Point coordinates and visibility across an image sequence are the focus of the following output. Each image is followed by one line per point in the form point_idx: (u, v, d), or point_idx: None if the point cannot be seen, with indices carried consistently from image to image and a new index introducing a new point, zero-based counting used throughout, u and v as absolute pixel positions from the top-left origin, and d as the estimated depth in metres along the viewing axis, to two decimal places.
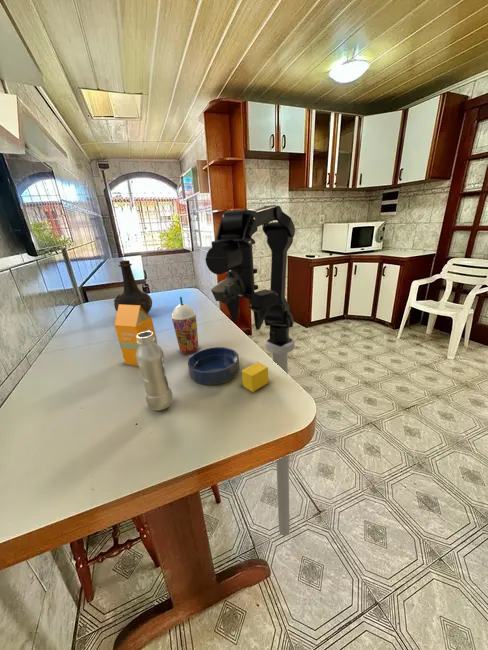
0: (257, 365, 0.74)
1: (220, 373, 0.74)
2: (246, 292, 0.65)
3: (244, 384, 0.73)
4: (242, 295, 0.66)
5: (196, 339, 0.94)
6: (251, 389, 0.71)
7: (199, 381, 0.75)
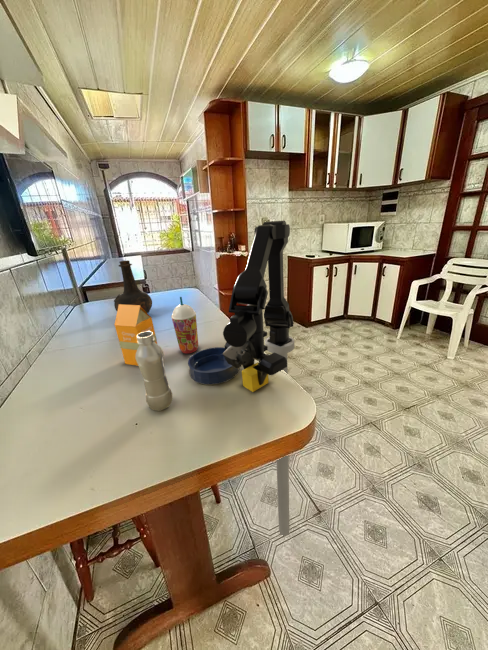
0: None
1: (220, 373, 0.74)
2: (256, 355, 0.67)
3: (244, 384, 0.73)
4: (259, 360, 0.67)
5: (196, 339, 0.94)
6: (251, 389, 0.71)
7: (199, 381, 0.75)
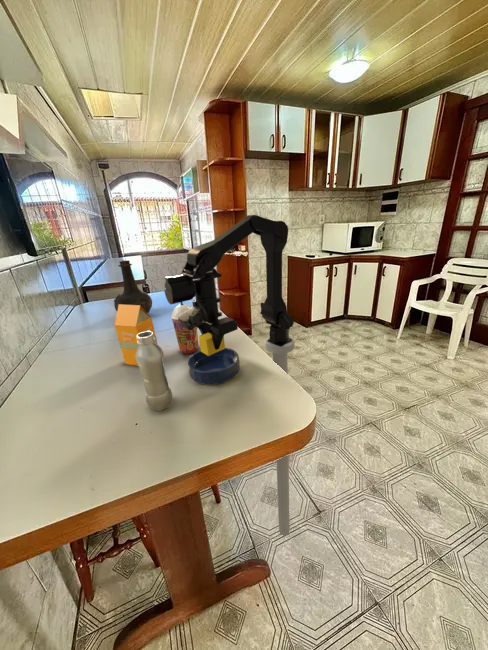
0: None
1: (220, 373, 0.74)
2: (210, 319, 0.72)
3: (201, 349, 0.78)
4: None
5: (196, 339, 0.94)
6: (207, 353, 0.75)
7: (199, 381, 0.75)
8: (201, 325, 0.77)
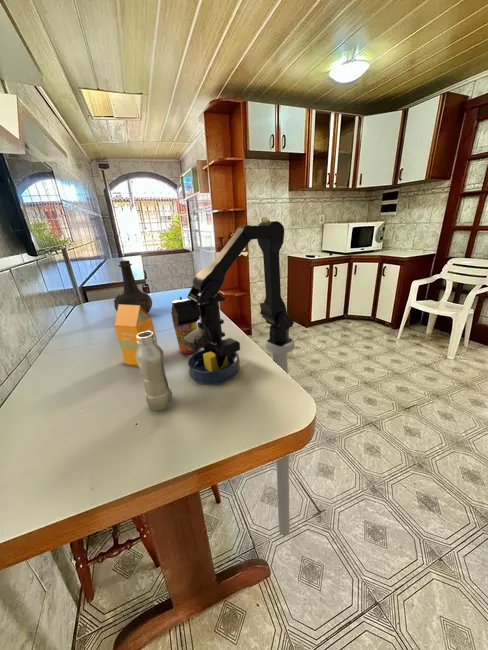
0: None
1: (220, 373, 0.74)
2: (214, 340, 0.77)
3: (205, 366, 0.82)
4: (216, 344, 0.76)
5: None
6: (211, 370, 0.80)
7: (199, 381, 0.75)
8: (205, 344, 0.81)
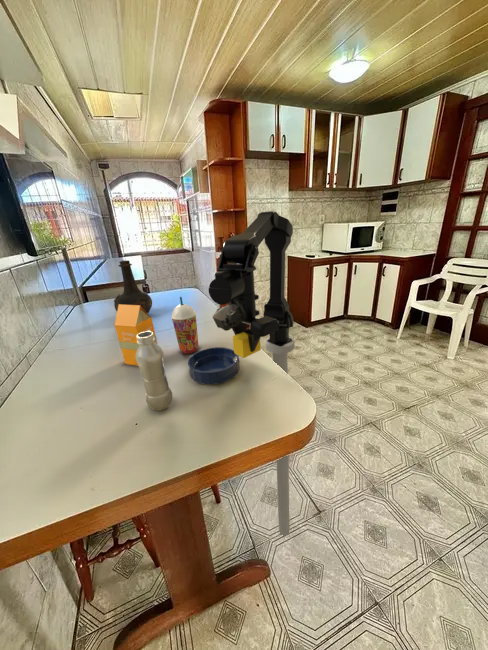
0: None
1: (220, 373, 0.74)
2: (247, 318, 0.65)
3: (235, 351, 0.70)
4: (250, 323, 0.65)
5: (196, 339, 0.94)
6: (242, 355, 0.68)
7: (199, 381, 0.75)
8: None
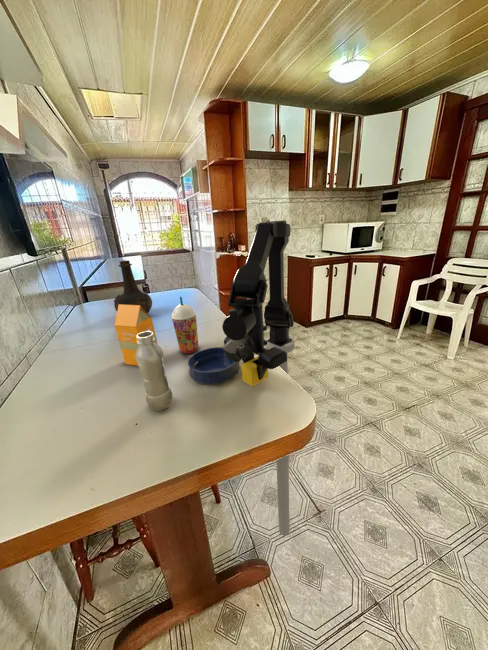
0: None
1: (220, 373, 0.74)
2: (256, 349, 0.67)
3: (244, 378, 0.72)
4: (259, 354, 0.67)
5: (196, 339, 0.94)
6: (251, 383, 0.70)
7: (199, 381, 0.75)
8: None
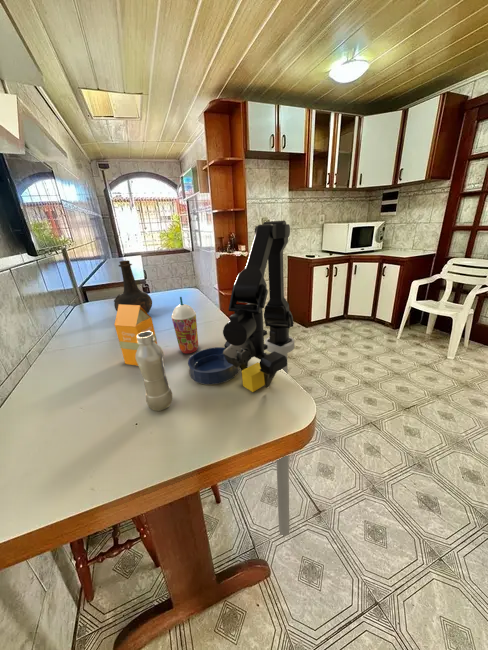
0: (257, 365, 0.74)
1: (220, 373, 0.74)
2: (256, 354, 0.67)
3: (244, 384, 0.73)
4: None
5: (196, 339, 0.94)
6: (251, 389, 0.71)
7: (199, 381, 0.75)
8: None
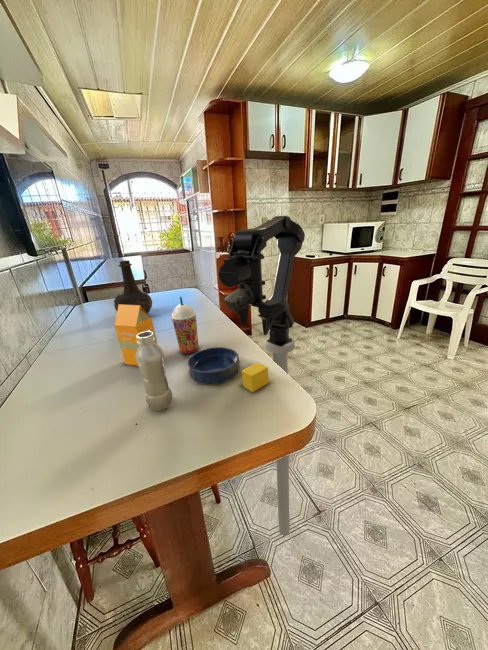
0: (257, 365, 0.74)
1: (220, 373, 0.74)
2: (255, 302, 0.72)
3: (244, 384, 0.73)
4: (251, 304, 0.74)
5: (196, 339, 0.94)
6: (251, 389, 0.71)
7: (199, 381, 0.75)
8: None
